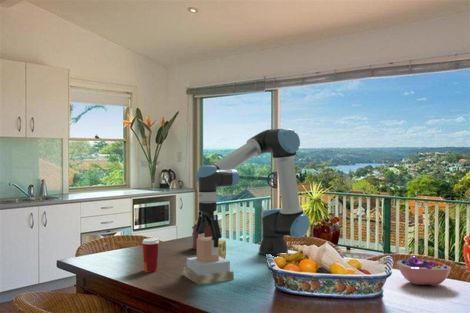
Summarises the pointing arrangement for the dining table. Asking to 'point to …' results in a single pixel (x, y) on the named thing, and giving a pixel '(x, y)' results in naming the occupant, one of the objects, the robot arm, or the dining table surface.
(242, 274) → the dining table surface
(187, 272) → the tower base
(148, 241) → the paper cup
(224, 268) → the tower top
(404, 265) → the cell model
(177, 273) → the dining table surface
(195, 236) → the canister
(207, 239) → the terracotta block
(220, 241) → the cheese
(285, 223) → the robot arm
